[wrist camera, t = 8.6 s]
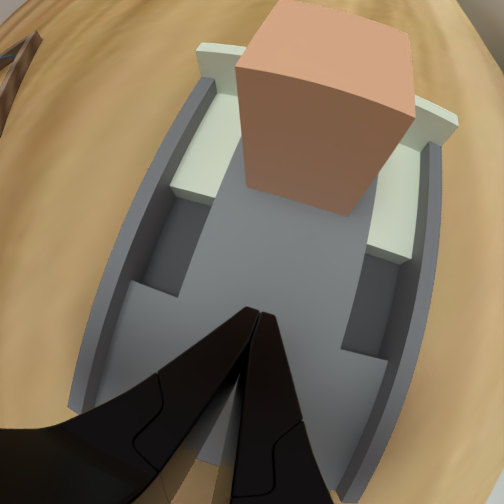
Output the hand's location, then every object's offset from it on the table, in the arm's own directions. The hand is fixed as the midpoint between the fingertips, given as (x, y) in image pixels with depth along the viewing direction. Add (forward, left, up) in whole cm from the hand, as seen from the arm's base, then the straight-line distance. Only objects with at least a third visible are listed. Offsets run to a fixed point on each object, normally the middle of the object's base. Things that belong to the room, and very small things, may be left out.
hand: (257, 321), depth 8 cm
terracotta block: (+9, -5, -7) cm, 12 cm away
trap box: (+2, -2, -9) cm, 10 cm away
